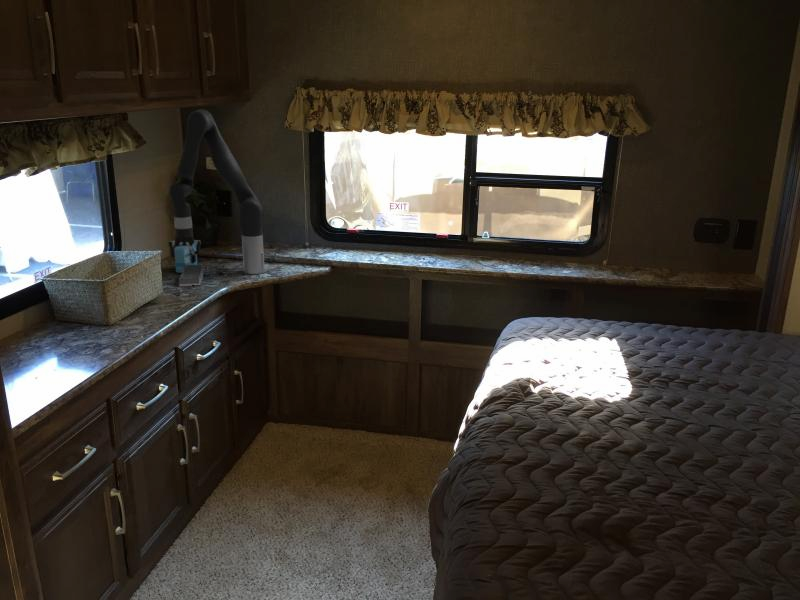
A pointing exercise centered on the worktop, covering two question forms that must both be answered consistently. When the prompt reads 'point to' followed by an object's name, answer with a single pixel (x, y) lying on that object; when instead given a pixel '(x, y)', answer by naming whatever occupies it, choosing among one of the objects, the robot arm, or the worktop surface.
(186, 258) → the blue box
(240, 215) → the robot arm
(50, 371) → the worktop surface
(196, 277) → the rail cradle
